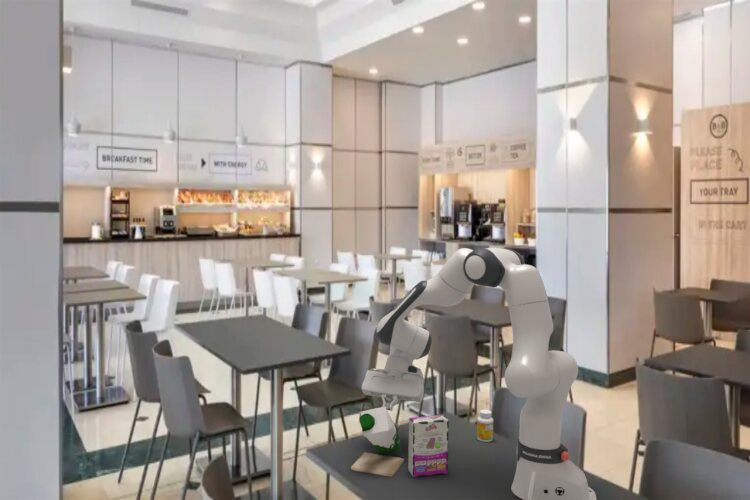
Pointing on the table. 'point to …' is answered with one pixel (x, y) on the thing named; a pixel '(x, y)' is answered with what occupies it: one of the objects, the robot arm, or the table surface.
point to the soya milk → (380, 430)
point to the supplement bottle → (485, 426)
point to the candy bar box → (428, 445)
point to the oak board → (377, 464)
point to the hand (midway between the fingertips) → (387, 409)
